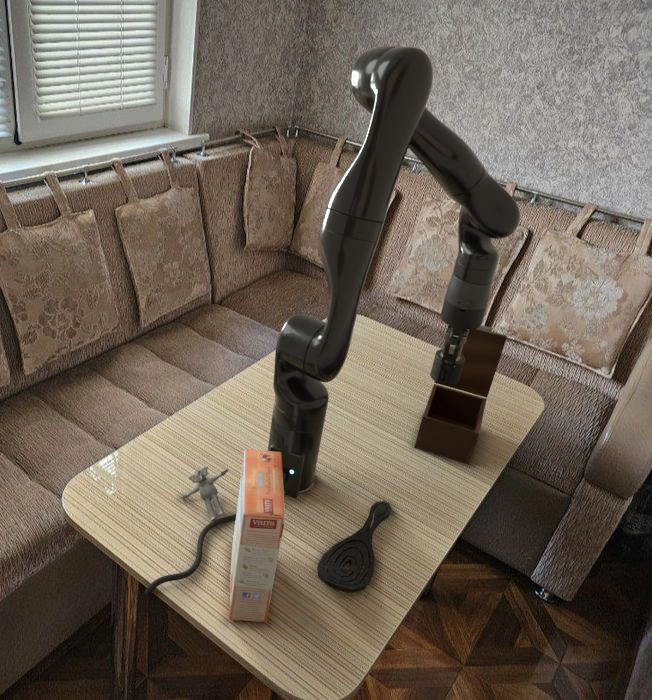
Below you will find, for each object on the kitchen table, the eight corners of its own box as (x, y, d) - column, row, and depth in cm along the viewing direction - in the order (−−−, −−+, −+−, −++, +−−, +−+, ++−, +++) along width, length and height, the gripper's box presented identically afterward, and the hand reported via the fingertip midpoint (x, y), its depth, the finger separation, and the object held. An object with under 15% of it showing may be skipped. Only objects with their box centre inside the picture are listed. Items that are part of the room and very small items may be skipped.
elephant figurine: (185, 529, 112) (168, 483, 117) (202, 534, 117) (185, 489, 122) (235, 499, 110) (215, 453, 115) (250, 506, 115) (230, 461, 120)
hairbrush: (411, 502, 118) (358, 592, 98) (406, 518, 120) (354, 610, 100) (367, 484, 121) (308, 567, 102) (363, 500, 123) (304, 584, 103)
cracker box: (269, 624, 97) (286, 517, 87) (227, 621, 97) (240, 514, 86) (268, 551, 109) (283, 449, 99) (231, 548, 109) (242, 446, 98)
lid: (507, 337, 133) (509, 325, 137) (450, 322, 136) (454, 312, 141) (487, 397, 141) (489, 385, 145) (434, 382, 144) (438, 371, 148)
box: (469, 464, 134) (479, 433, 130) (414, 447, 137) (422, 416, 133) (477, 428, 145) (486, 398, 141) (426, 413, 148) (434, 383, 144)
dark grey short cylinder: (457, 388, 129) (463, 366, 126) (427, 380, 131) (433, 358, 128) (460, 374, 133) (467, 353, 131) (432, 367, 135) (438, 345, 133)
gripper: (451, 280, 130) (431, 354, 139) (440, 309, 118) (419, 388, 127) (490, 289, 128) (468, 364, 136) (483, 319, 116) (459, 399, 125)
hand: (445, 375), depth 132 cm, fingers closed on dark grey short cylinder, 5 cm apart
